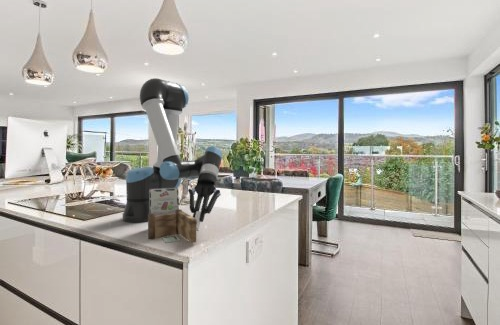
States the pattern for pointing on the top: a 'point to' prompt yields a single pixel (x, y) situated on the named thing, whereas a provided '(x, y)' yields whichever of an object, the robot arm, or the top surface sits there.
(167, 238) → the card
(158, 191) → the candy bar box
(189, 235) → the fence gate
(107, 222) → the top surface
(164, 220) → the fence base
